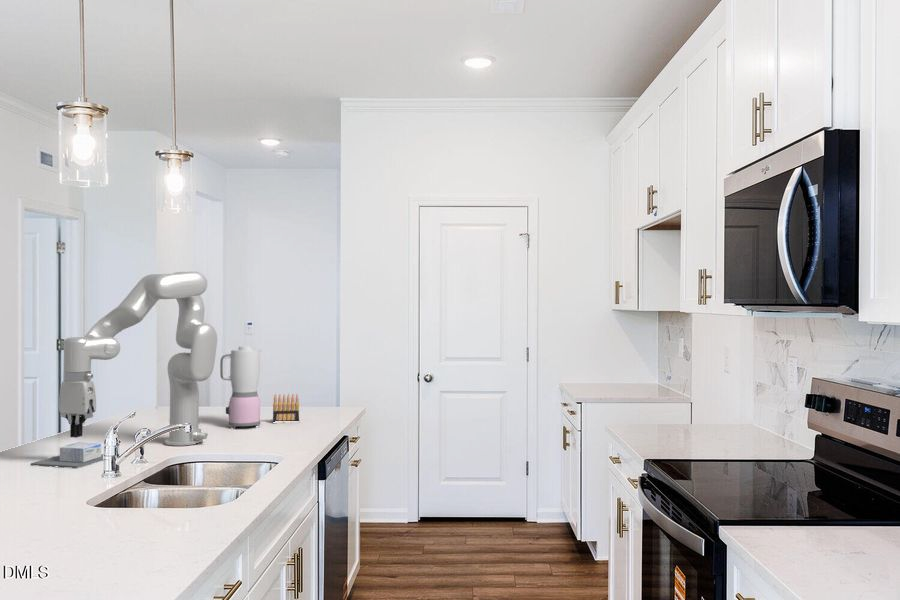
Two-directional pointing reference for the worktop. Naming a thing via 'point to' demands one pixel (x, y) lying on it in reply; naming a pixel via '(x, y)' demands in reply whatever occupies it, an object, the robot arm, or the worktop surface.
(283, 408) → the ammunition clip
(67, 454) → the medicine box
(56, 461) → the mat
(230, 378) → the blender
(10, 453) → the worktop surface
